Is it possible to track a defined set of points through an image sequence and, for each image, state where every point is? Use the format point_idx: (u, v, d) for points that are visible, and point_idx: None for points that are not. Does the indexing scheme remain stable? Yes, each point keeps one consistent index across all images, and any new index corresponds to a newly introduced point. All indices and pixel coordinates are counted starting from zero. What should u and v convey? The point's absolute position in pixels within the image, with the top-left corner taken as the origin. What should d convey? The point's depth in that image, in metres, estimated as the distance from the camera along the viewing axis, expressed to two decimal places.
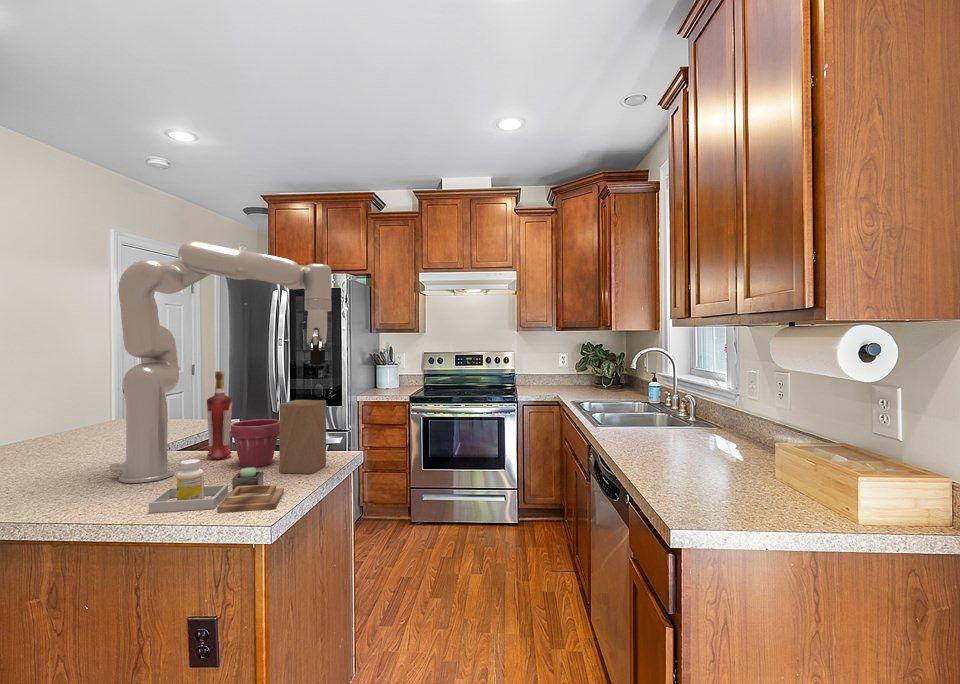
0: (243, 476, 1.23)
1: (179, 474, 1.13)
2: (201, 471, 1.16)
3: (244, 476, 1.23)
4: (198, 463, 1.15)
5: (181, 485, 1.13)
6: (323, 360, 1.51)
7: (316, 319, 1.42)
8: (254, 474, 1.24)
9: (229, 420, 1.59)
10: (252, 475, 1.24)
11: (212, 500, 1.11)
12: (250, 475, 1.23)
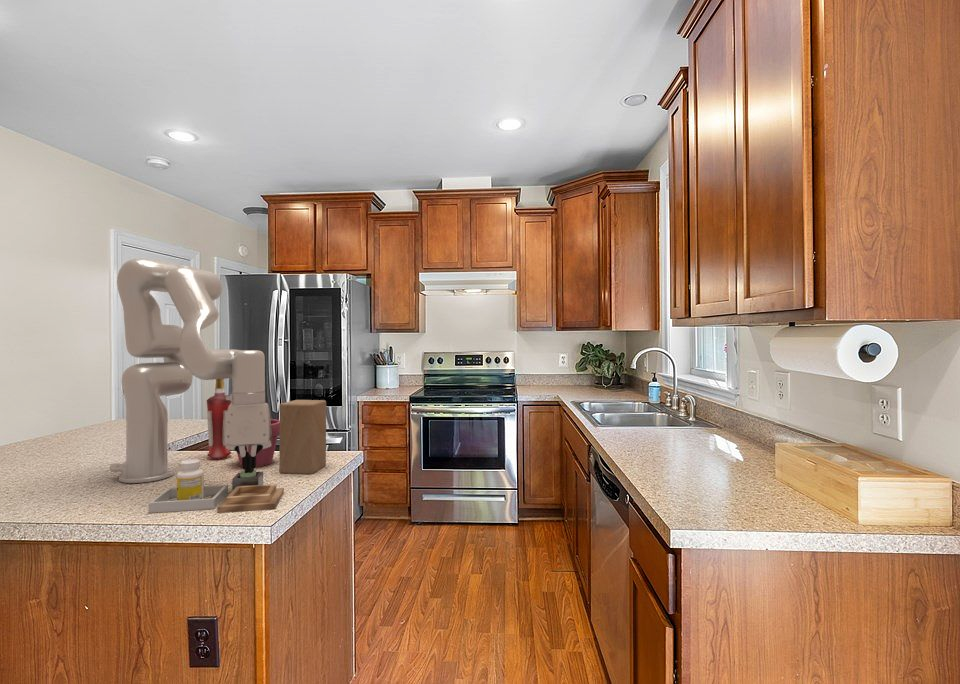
0: None
1: (179, 474, 1.13)
2: (201, 471, 1.16)
3: None
4: (198, 463, 1.15)
5: (181, 485, 1.13)
6: None
7: (269, 414, 1.26)
8: (254, 476, 1.24)
9: None
10: None
11: (212, 500, 1.11)
12: None
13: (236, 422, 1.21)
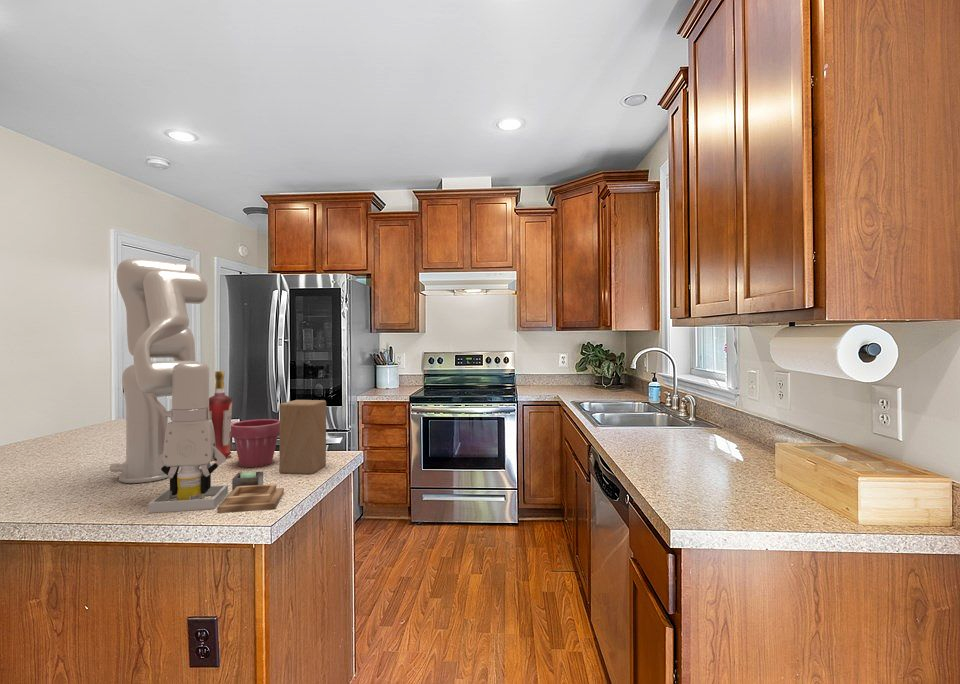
0: None
1: (179, 474, 1.13)
2: (201, 471, 1.16)
3: None
4: None
5: (181, 485, 1.13)
6: None
7: (213, 432, 1.16)
8: None
9: (229, 420, 1.59)
10: None
11: (212, 500, 1.11)
12: None
13: (175, 441, 1.12)
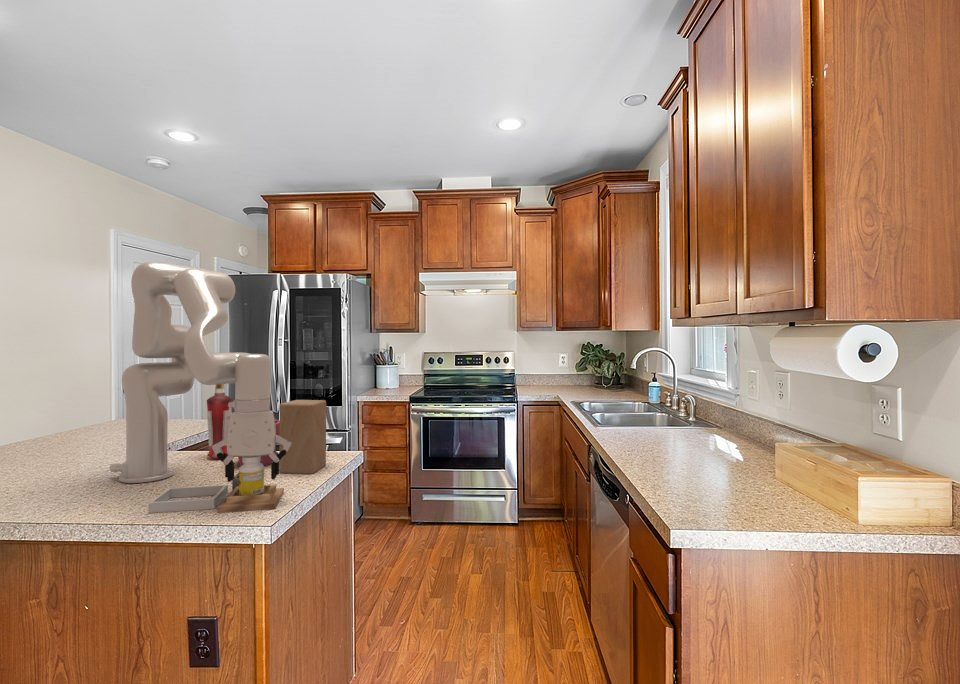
0: None
1: (241, 468, 1.14)
2: (262, 465, 1.16)
3: None
4: (259, 457, 1.16)
5: (243, 479, 1.14)
6: None
7: (274, 423, 1.17)
8: None
9: (229, 420, 1.59)
10: None
11: (212, 500, 1.11)
12: None
13: (239, 431, 1.13)
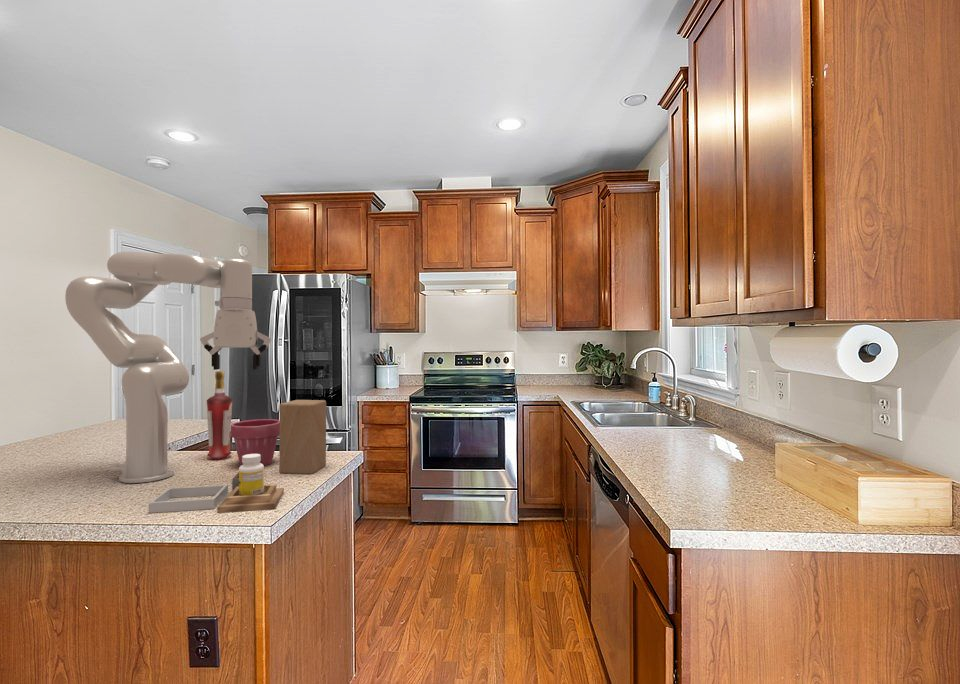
0: None
1: (241, 468, 1.14)
2: (262, 465, 1.16)
3: None
4: (259, 457, 1.16)
5: (243, 479, 1.14)
6: None
7: (255, 321, 1.33)
8: None
9: (229, 420, 1.59)
10: None
11: (212, 500, 1.11)
12: None
13: (224, 324, 1.29)
